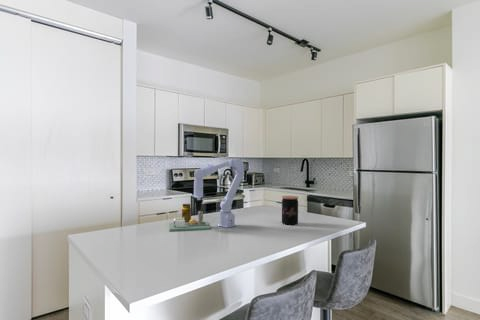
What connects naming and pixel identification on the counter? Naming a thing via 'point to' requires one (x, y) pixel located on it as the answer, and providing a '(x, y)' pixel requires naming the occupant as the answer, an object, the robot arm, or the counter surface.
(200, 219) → the grey and tan mallet
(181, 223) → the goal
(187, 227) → the pitch
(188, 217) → the condiment
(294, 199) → the coffee jar
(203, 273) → the counter surface
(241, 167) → the robot arm
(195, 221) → the ball
